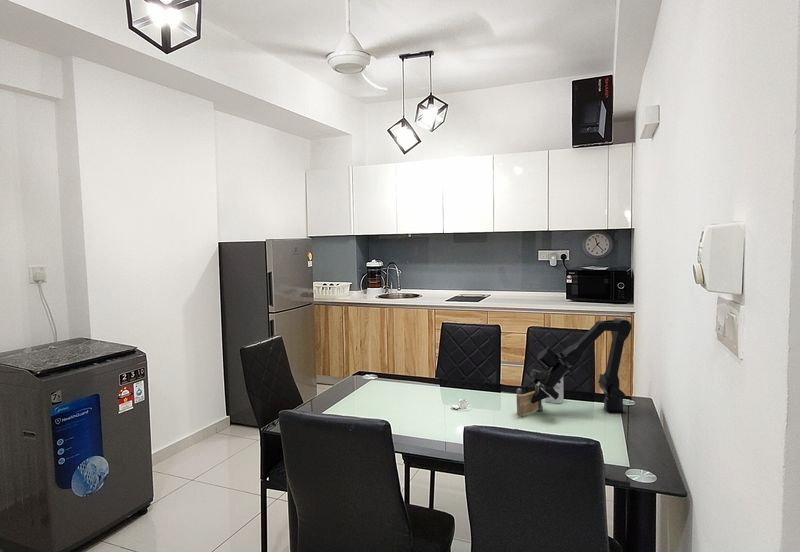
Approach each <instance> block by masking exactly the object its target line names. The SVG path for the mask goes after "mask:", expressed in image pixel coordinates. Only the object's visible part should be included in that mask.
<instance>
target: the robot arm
mask: <svg viewBox="0 0 800 552" xmlns="http://www.w3.org/2000/svg"><path fill="white" fill-rule="evenodd" d="M632 328H633V327H632V323H631V322H630V321H629V320H628V319H624V318H619V317H617V318H614V319H611V320H609V319H608V320H597V321H596V322H595V323H594V325H592V326H591V328H590V329H588V331H587V332H585V333H584V335H582V336H581V337H580V338H579V340H577V342H575V343H574V344H571V345H569V346H568V347H567V348H565V349H563V351H561V352H554V351H553V350H552V348H550V347H549V346H547V347H546V348H545V349H543V350H541V351H540V352H539V353H538V354H537V357H536V359H537V360H538V361H539V362H540V363H542V364H543V366H545V367H546V368H550V369H549V370H545V372H544V371H543V370H538V369H534V368H532V369H531V372H530V374H529V377H531V379H530V380H531V381H532V382H533V385H534V389H535V390H534V391H535V392H534V395H533V397H532V400H531V403H536V402H538V401H540V400H542V401H543V400H545V398H548V397H550V396H552V397H553V398H554V399H555V400H556V399H557V398H558V397H559V393H557V392H556V391H555V389H554V387H555V386H556V385H557V383H559V384H560V383H561V381H560V380H561V379H562V377H563V378H564V376H565V375H566V374H567V373H570V374H574V371H573V366H576V365H577V364H578V363H579V362H580V361H581V359H582V358H583V356H584V354H585V352H586V350H588V348H590V346H591V345H592V344H593V343H594V342H595V341H596V340H597V339H599V337H600V336H601V335H602V334H603V333H604V332H610V334H611V337H612V338H611V344H610V349H609V354H608V359H607V363H606V369H605V371H604V373H603V374H602V373H600V374H599V378H598V381H597V383H598V387H599V388H600V390H601V391H602V392H603V394H604V399H603V409H604V410H605V411H606V412H608V413H609V414H622V413H623V414H624V413H625V410H624V402H623V401H624V399H625V397H626V394H625V393H624V392H623V390H621V389H620V378H619V369H620V365H621V359H622V355H623V349H624V345H625V342H626V340H627V338H628V337H630V336H629V335H630V333H631V331H632ZM560 361H561V362H560ZM568 364H569V365H568ZM549 395H550V396H549Z"/></svg>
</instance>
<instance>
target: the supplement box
mask: <svg viewBox="0 0 800 552" xmlns="http://www.w3.org/2000/svg"><path fill="white" fill-rule="evenodd" d="M560 381H561V383H560V384H559V383H557V385H556V386H555V387H554V389H555V391H556V392H557V393H559V397H558V398H557V399H556V400H555V399H554V398H553V397H552V396H550V395H549V396H550V397H548V398H545V399H544V403H553V404H562V403H563V401H564V376H563V377H562V379H561V380H560Z"/></svg>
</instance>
